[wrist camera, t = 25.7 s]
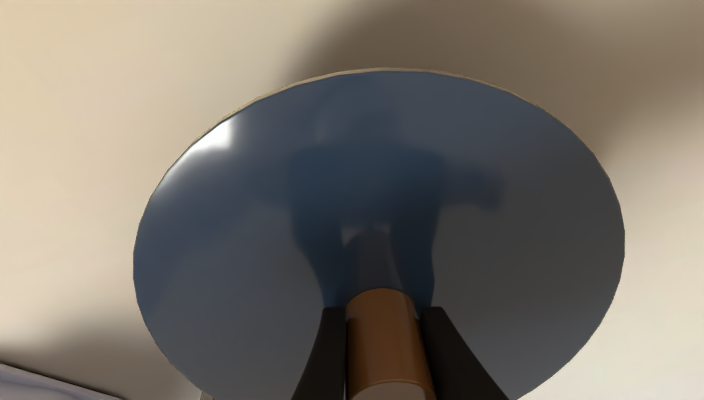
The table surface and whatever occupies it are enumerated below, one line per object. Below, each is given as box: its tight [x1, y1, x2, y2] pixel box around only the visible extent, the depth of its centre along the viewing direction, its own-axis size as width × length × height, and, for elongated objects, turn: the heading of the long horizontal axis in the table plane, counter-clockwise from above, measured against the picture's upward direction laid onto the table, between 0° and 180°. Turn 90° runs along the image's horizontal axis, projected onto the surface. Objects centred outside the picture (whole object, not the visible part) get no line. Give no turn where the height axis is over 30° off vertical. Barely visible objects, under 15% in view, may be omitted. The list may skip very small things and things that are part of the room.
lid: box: [133, 67, 625, 400], centre depth 11 cm, size 16×16×4 cm
